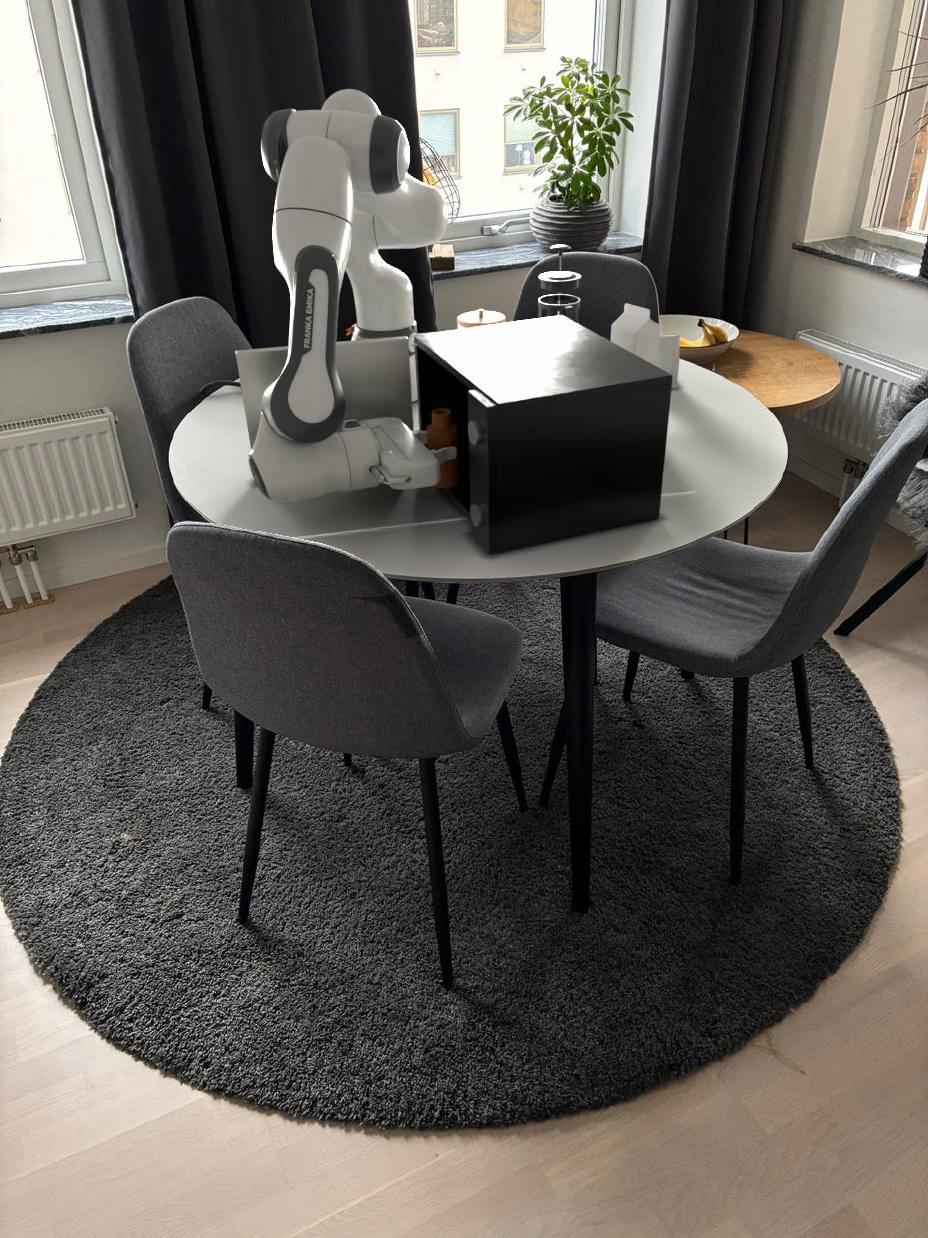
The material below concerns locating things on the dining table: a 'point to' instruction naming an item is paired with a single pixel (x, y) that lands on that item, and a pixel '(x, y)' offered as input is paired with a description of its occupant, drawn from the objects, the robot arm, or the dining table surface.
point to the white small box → (669, 356)
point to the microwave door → (364, 371)
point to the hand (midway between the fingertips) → (448, 443)
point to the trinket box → (479, 319)
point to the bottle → (442, 435)
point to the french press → (559, 283)
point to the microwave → (546, 428)
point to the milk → (637, 333)
